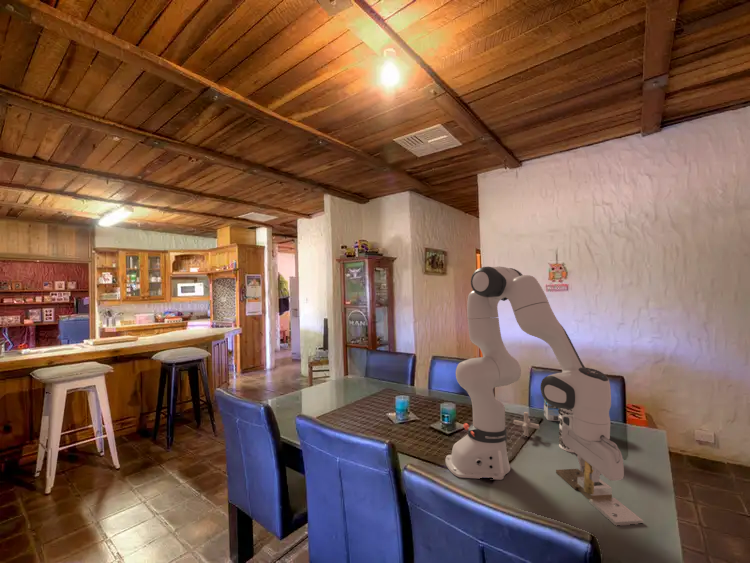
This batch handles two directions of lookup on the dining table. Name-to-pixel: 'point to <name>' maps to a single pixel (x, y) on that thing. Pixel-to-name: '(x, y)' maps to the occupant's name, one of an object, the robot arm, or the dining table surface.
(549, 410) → the light bulb box
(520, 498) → the dining table surface
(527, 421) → the pipe connector
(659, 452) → the dining table surface
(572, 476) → the hinge
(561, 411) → the decorative candle
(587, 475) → the brass pin
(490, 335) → the robot arm
